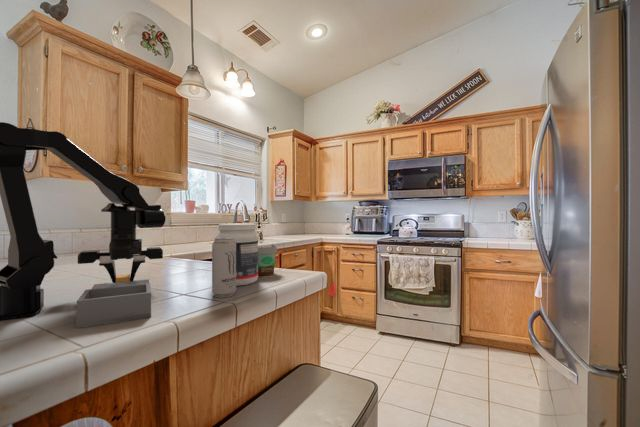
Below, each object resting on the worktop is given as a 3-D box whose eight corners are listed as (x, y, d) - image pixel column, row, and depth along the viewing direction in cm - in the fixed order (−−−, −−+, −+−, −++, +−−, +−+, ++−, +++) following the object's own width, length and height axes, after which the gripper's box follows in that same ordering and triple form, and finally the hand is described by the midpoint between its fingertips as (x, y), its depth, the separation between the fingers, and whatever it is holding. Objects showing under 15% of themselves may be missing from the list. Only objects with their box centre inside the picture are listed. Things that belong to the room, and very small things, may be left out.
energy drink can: (226, 298, 75) (226, 239, 75) (206, 296, 77) (207, 238, 77) (240, 293, 81) (240, 237, 81) (222, 291, 83) (222, 236, 83)
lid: (88, 301, 67) (88, 287, 67) (96, 288, 79) (96, 276, 79) (149, 294, 73) (149, 281, 73) (148, 283, 85) (148, 272, 85)
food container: (258, 278, 99) (258, 248, 99) (246, 276, 103) (246, 247, 103) (284, 273, 109) (284, 245, 109) (272, 271, 112) (272, 244, 112)
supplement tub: (206, 283, 92) (206, 223, 92) (239, 276, 102) (239, 223, 103) (234, 289, 85) (234, 224, 85) (266, 281, 95) (266, 223, 95)
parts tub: (76, 328, 55) (76, 301, 55) (85, 313, 64) (85, 289, 64) (151, 317, 61) (151, 292, 62) (150, 304, 70) (150, 283, 70)
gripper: (73, 231, 69) (72, 298, 69) (164, 229, 79) (163, 288, 79) (81, 229, 79) (81, 288, 79) (161, 227, 88) (161, 280, 88)
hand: (123, 286), depth 81 cm, fingers closed on lid, 3 cm apart
